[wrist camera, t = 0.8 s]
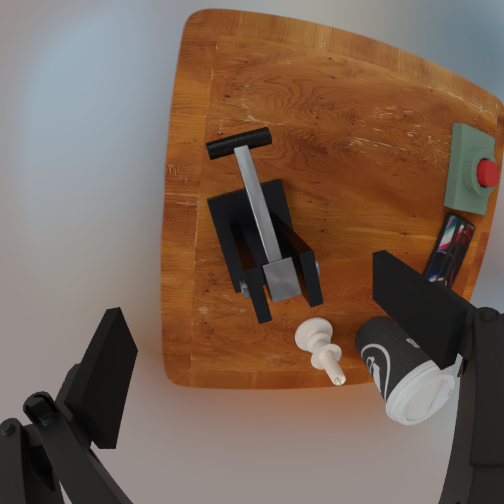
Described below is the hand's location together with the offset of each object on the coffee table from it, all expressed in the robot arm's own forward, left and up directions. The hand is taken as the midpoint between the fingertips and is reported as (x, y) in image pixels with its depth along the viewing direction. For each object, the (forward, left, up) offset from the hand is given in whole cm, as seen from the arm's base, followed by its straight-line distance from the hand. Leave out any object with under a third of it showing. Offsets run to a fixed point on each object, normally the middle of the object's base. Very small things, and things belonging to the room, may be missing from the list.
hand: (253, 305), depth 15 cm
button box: (-10, +33, -20) cm, 40 cm away
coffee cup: (+16, +22, -20) cm, 34 cm away
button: (-10, +33, -16) cm, 38 cm away
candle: (+15, +12, -20) cm, 28 cm away
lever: (-2, +2, -11) cm, 11 cm away
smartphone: (+4, +32, -20) cm, 38 cm away
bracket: (+2, +3, -20) cm, 20 cm away
